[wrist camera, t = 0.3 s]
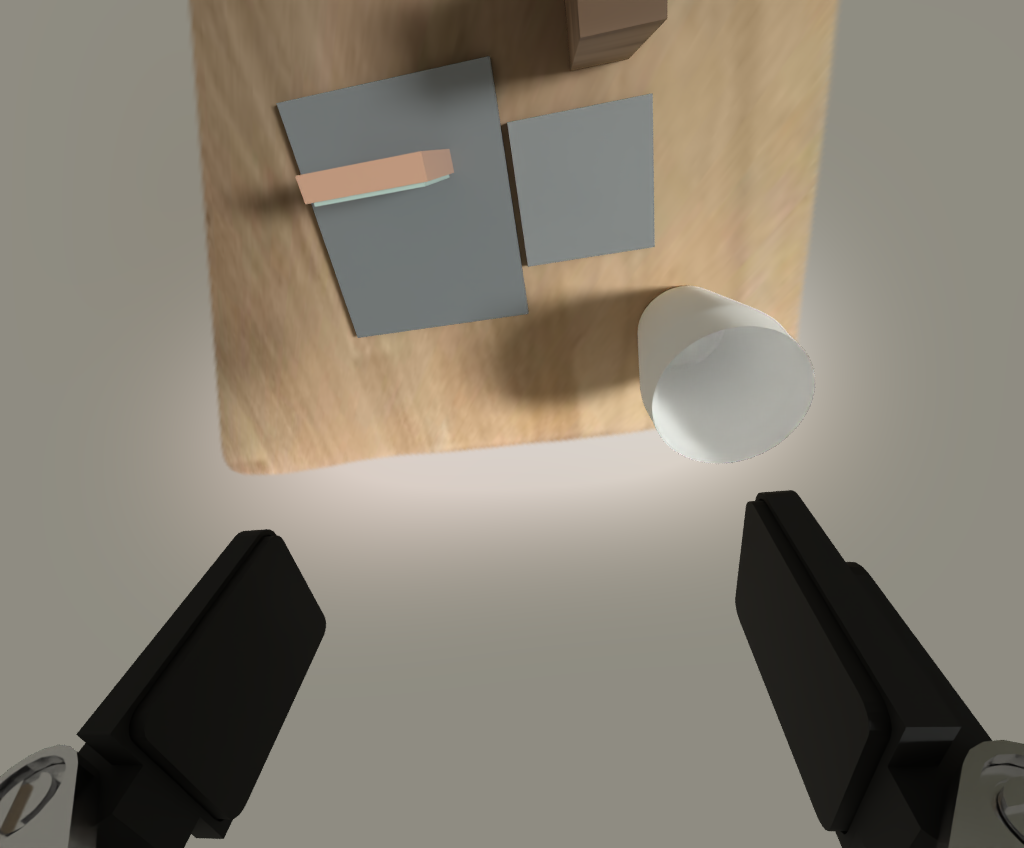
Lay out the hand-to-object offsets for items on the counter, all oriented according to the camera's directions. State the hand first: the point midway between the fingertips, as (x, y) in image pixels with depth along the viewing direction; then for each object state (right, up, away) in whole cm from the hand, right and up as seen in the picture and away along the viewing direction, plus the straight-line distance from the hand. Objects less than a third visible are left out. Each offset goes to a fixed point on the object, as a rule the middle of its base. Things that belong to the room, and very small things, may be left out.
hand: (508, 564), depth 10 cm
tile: (-7, +20, +22) cm, 31 cm away
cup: (+13, +10, +27) cm, 32 cm away
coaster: (+5, +19, +23) cm, 30 cm away
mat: (-7, +18, +24) cm, 31 cm away
